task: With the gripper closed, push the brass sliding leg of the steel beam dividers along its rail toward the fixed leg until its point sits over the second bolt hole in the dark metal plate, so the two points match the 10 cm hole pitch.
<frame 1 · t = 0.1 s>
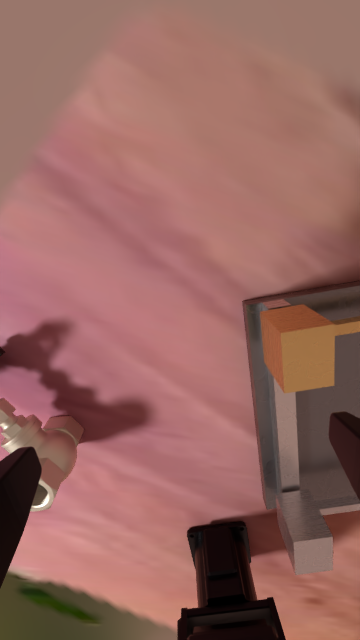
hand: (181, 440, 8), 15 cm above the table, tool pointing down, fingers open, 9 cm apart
bolt plate dividers: (335, 400, 25), on the table
sliding leg: (344, 331, 19), point 4 cm above the table, slide at 0.0 cm
valve: (36, 400, 25), on the table
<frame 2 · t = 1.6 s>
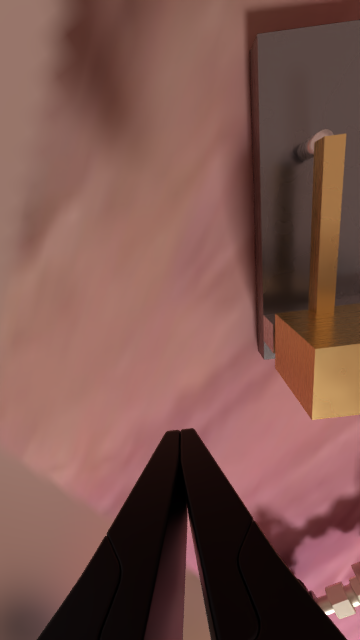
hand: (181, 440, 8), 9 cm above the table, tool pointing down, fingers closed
sliding leg: (333, 266, 11), point 4 cm above the table, slide at 0.0 cm
valve: (335, 541, 24), on the table
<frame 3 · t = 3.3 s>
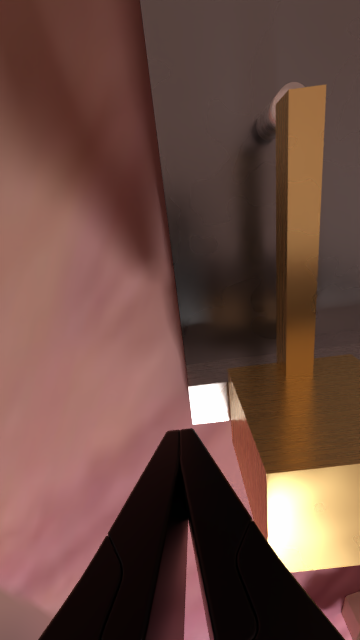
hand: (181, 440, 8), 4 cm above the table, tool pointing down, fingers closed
sliding leg: (308, 307, 7), point 4 cm above the table, slide at 1.4 cm, touching gripper
valve: (312, 616, 20), on the table
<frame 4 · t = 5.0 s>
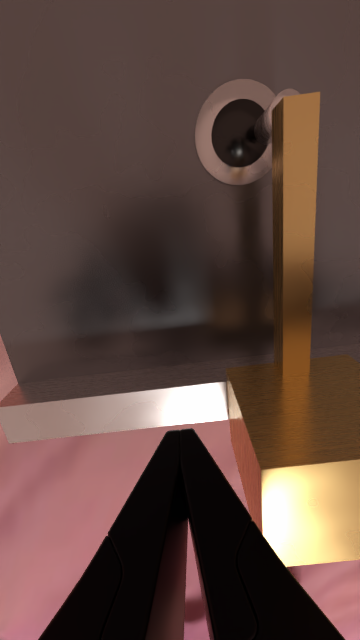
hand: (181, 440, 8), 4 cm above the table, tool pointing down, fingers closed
bolt plate dividers: (275, 229, 11), on the table
sliding leg: (304, 308, 7), point 4 cm above the table, slide at 8.3 cm, touching gripper
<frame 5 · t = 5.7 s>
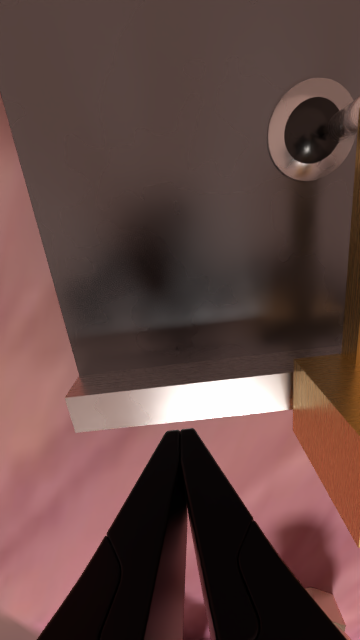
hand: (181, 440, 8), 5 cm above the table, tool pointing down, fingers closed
bolt plate dividers: (333, 224, 11), on the table
valve: (255, 616, 20), on the table
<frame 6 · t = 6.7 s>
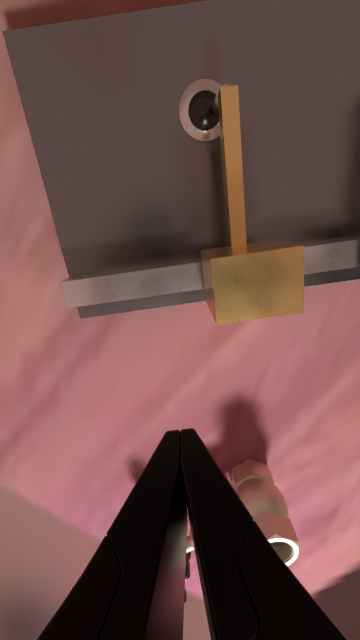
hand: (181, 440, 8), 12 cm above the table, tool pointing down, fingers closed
bolt plate dividers: (231, 173, 17), on the table
sliding leg: (238, 201, 14), point 4 cm above the table, slide at 8.3 cm
valve: (212, 490, 26), on the table
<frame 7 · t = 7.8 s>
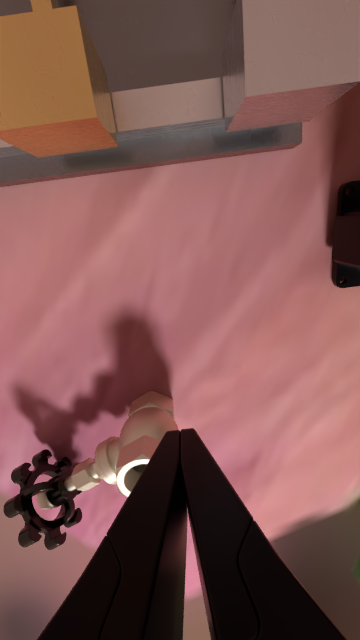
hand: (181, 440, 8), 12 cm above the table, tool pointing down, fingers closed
bolt plate dividers: (79, 9, 14), on the table
valve: (115, 429, 23), on the table
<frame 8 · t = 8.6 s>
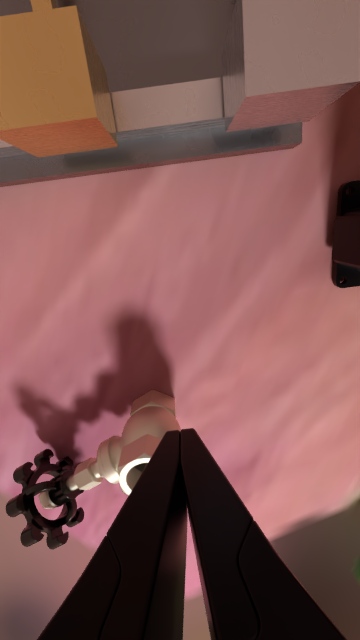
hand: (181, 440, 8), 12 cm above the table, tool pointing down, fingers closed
bolt plate dividers: (79, 9, 14), on the table
valve: (117, 429, 23), on the table
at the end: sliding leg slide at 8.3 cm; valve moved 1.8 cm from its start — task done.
